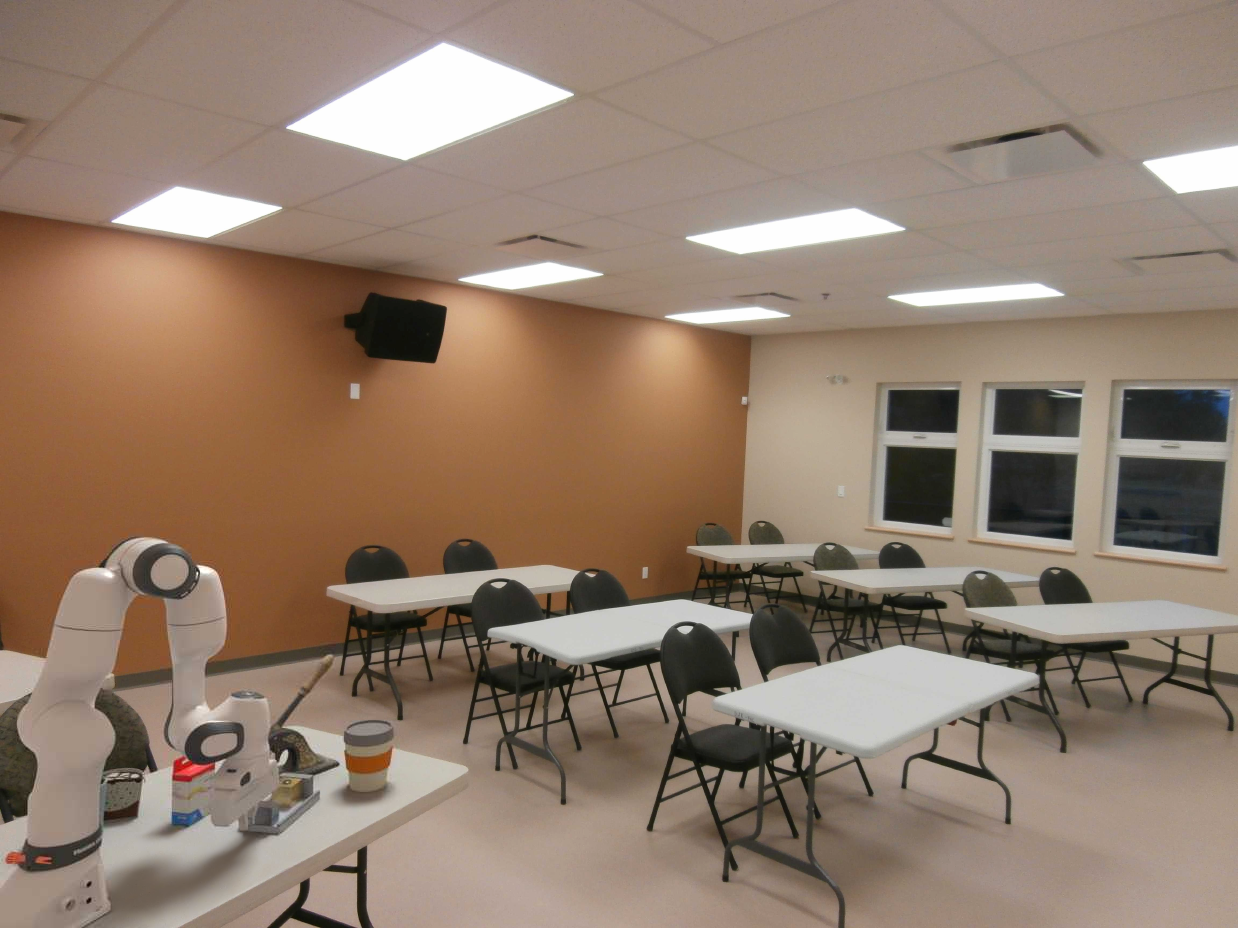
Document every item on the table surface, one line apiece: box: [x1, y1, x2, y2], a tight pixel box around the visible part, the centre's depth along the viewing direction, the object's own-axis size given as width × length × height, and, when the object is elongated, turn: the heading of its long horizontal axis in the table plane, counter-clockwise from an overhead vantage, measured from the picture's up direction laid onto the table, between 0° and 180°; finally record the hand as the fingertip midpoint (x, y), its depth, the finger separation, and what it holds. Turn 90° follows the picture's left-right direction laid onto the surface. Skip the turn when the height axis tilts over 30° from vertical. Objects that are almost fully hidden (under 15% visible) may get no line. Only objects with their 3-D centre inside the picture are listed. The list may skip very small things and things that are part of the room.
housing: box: [270, 777, 302, 808], centre depth 189 cm, size 5×5×5 cm
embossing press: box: [268, 653, 340, 776], centre depth 209 cm, size 11×24×30 cm, turn 145°
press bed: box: [238, 773, 321, 835], centre depth 186 cm, size 18×10×6 cm, turn 173°
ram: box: [254, 800, 279, 826], centre depth 180 cm, size 4×6×4 cm
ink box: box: [171, 755, 216, 827], centre depth 184 cm, size 8×5×15 cm, turn 168°
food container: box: [102, 767, 147, 823], centre depth 184 cm, size 12×6×10 cm, turn 113°
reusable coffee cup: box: [342, 718, 395, 793], centre depth 204 cm, size 12×13×15 cm
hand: (246, 827), depth 173 cm, fingers closed
